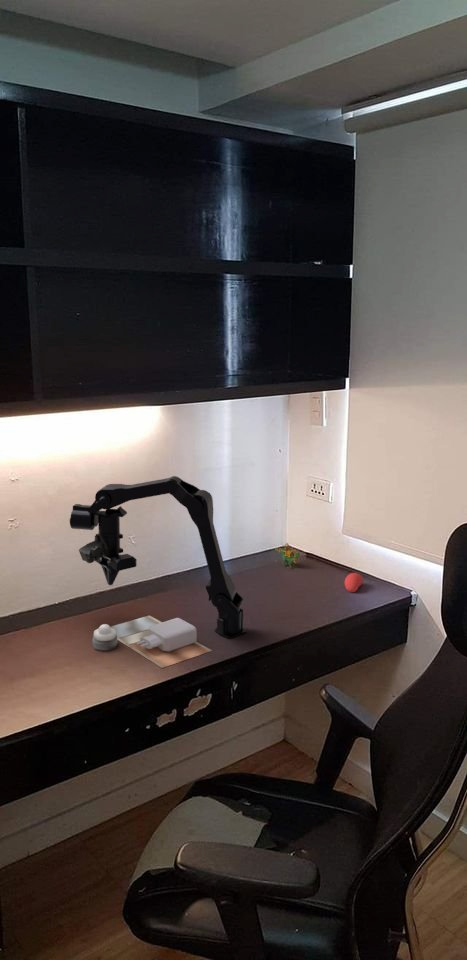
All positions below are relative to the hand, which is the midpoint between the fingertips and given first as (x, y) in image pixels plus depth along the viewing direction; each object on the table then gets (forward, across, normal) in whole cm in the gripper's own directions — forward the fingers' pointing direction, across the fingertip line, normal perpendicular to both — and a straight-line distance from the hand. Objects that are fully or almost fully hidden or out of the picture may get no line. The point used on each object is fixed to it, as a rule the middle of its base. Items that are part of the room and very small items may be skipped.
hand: (110, 584), depth 208 cm
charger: (+11, +22, +3) cm, 25 cm away
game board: (+11, +17, -1) cm, 21 cm away
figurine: (+11, -4, +72) cm, 73 cm away
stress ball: (+11, +24, +74) cm, 79 cm away
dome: (+9, +12, -9) cm, 17 cm away
